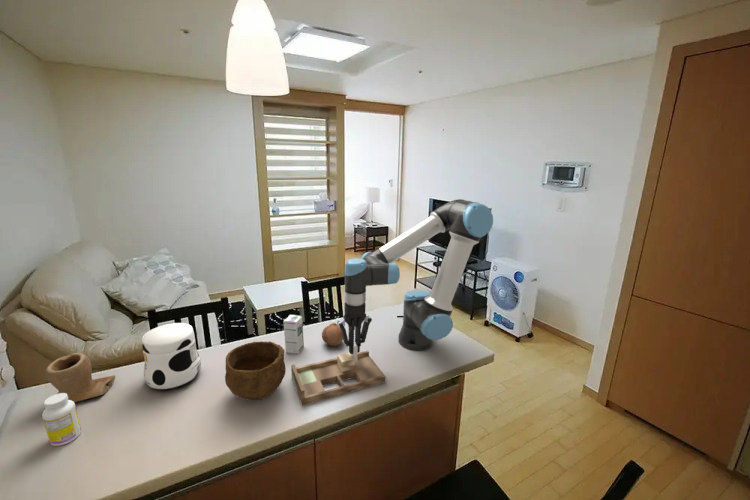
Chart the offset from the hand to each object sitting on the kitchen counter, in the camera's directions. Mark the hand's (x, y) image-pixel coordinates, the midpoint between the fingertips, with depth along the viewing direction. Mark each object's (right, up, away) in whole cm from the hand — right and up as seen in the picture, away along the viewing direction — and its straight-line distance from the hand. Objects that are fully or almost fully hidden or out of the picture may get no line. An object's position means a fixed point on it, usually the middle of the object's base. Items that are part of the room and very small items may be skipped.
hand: (354, 360), depth 126 cm
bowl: (-32, -7, -12) cm, 35 cm away
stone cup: (-88, -7, -16) cm, 89 cm away
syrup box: (-26, 0, +14) cm, 29 cm away
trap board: (-6, -5, -4) cm, 9 cm away
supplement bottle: (-79, -11, -32) cm, 86 cm away
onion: (-10, +1, +19) cm, 21 cm away
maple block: (-3, -2, -1) cm, 4 cm away
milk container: (-64, -5, -6) cm, 64 cm away
